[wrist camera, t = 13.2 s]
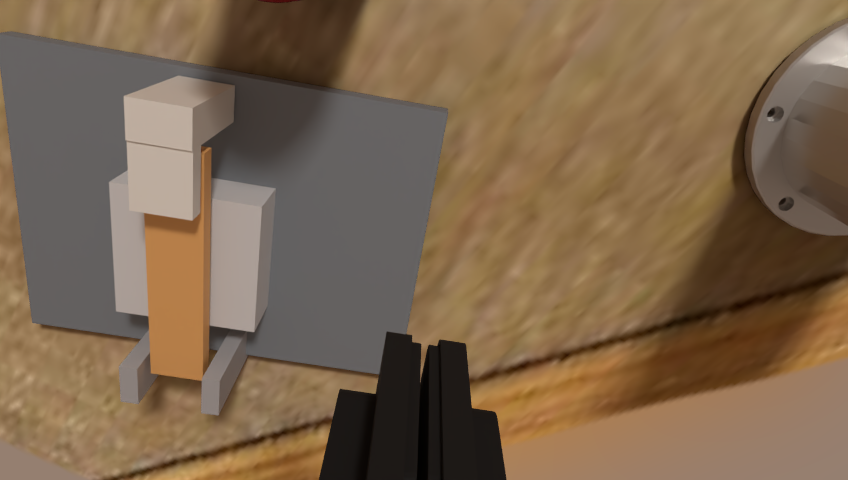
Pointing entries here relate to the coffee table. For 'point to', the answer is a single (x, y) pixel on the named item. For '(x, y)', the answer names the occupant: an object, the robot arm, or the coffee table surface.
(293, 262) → the board
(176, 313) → the strap
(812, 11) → the coffee table surface
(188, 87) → the block
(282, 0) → the soda can
